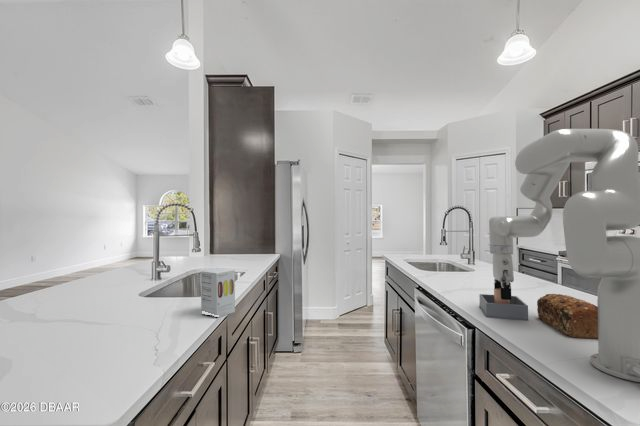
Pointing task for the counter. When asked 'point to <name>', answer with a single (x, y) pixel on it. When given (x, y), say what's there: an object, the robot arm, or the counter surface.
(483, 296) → the bin
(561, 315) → the bread
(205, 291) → the supplement box
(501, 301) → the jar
